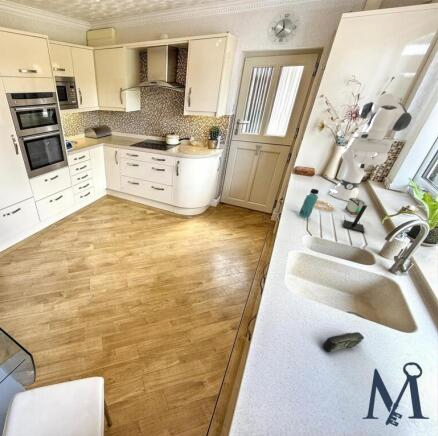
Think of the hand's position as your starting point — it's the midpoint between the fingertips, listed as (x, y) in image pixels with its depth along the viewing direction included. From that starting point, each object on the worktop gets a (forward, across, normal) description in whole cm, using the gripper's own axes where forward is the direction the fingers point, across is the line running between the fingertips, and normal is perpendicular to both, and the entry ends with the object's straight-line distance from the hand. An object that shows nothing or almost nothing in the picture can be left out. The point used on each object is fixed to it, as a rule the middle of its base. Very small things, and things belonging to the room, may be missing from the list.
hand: (362, 158), depth 147 cm
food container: (+38, -10, +1) cm, 39 cm away
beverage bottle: (+38, +24, +21) cm, 50 cm away
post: (+38, -3, +22) cm, 44 cm away
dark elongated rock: (+39, +29, +118) cm, 127 cm away
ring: (+36, +9, -3) cm, 38 cm away
